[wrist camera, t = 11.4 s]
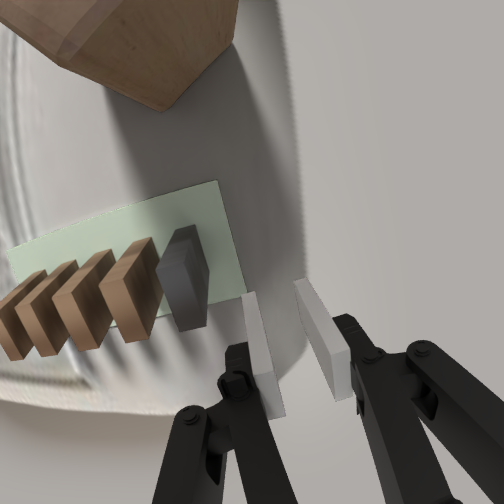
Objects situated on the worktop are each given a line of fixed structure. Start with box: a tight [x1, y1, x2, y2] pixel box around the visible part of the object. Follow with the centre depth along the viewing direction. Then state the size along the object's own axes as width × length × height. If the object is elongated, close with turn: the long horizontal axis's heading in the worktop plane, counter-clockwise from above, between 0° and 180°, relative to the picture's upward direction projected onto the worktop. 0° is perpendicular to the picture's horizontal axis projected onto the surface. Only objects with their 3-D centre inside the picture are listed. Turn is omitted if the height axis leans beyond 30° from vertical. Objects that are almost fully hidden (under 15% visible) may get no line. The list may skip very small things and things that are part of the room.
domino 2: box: [52, 249, 116, 351], centre depth 26 cm, size 5×2×10 cm, turn 13°
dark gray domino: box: [156, 224, 210, 332], centre depth 26 cm, size 5×2×10 cm, turn 13°
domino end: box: [0, 269, 48, 361], centre depth 25 cm, size 5×2×10 cm, turn 13°
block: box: [0, 0, 239, 112], centre depth 15 cm, size 10×10×20 cm
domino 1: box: [14, 259, 79, 357], centre depth 26 cm, size 5×2×10 cm, turn 13°
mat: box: [6, 180, 247, 327], centre depth 30 cm, size 12×26×1 cm, turn 103°
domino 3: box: [99, 237, 164, 343], centre depth 26 cm, size 5×2×10 cm, turn 13°
